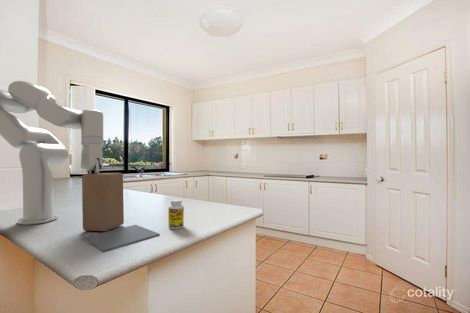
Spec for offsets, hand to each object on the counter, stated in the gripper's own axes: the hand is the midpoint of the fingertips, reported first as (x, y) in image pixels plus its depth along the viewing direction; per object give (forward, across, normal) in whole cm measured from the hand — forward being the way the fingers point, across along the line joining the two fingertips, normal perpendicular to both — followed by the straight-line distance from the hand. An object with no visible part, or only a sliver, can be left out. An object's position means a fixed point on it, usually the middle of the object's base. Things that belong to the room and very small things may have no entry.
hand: (92, 187), depth 94 cm
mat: (+14, +25, 0) cm, 29 cm away
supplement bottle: (+14, +30, +18) cm, 38 cm away
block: (+14, +11, 0) cm, 18 cm away
